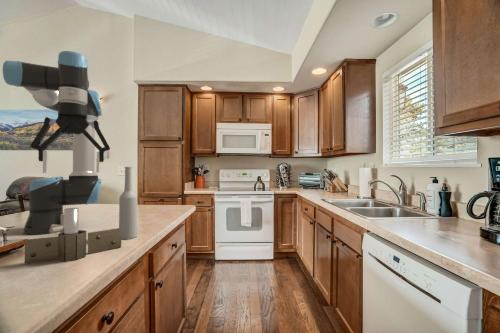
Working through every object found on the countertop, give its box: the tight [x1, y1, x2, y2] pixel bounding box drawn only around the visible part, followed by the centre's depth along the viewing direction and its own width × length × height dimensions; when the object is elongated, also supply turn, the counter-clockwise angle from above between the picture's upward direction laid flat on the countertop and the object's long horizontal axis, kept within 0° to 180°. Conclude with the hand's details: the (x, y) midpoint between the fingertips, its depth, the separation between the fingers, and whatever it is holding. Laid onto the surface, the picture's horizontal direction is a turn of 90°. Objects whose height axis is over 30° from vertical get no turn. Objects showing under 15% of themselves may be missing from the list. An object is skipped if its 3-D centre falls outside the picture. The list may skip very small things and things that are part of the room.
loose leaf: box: [87, 227, 122, 254], centre depth 87 cm, size 10×1×6 cm, turn 135°
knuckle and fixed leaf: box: [24, 229, 87, 265], centre depth 79 cm, size 7×15×8 cm, turn 116°
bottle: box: [118, 166, 138, 240], centre depth 104 cm, size 7×7×28 cm
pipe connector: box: [49, 214, 64, 234], centre depth 99 cm, size 10×10×10 cm
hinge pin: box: [63, 207, 79, 235], centre depth 81 cm, size 4×4×15 cm
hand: (72, 172), depth 81 cm, fingers open, 13 cm apart
